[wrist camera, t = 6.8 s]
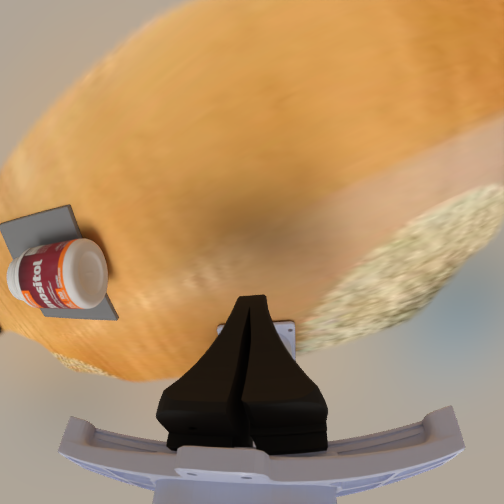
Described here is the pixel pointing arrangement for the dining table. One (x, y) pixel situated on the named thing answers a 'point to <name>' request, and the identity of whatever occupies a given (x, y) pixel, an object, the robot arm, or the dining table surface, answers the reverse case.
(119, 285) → the dining table surface
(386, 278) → the dining table surface
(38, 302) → the pill bottle
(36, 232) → the mat
